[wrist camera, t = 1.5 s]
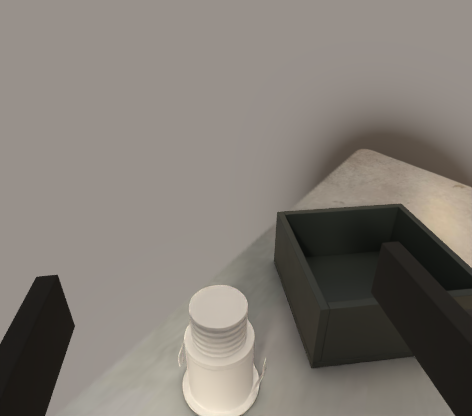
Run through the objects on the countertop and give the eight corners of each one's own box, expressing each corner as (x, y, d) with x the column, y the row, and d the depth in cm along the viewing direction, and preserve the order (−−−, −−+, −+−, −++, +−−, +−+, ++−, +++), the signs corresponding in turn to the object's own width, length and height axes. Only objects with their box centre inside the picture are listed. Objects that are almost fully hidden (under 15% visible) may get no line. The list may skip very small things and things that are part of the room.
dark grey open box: (311, 368, 34) (320, 309, 30) (273, 260, 48) (277, 211, 44) (470, 349, 36) (498, 292, 32) (388, 251, 50) (401, 203, 46)
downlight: (272, 364, 34) (278, 286, 29) (252, 436, 29) (255, 355, 24) (197, 342, 37) (190, 267, 32) (164, 405, 31) (150, 325, 26)
